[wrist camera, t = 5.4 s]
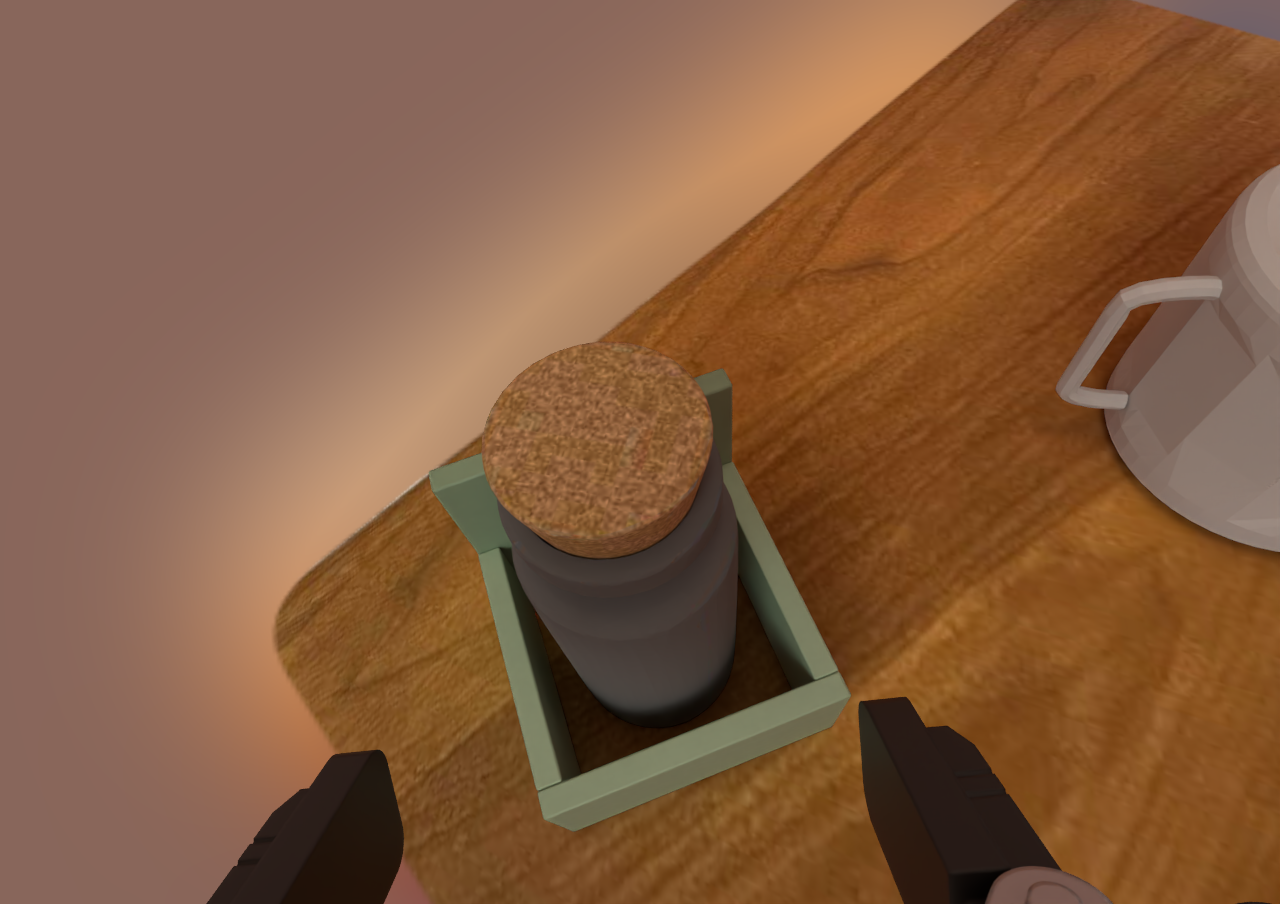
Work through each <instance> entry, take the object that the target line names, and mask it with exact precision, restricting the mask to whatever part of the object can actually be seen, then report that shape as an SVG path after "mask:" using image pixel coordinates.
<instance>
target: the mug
mask: <svg viewBox="0 0 1280 904" xmlns="http://www.w3.org/2000/svg"><path fill="white" fill-rule="evenodd" d="M1158 302H1162V303H1161V305H1160V306H1159V308H1158V309H1157V310H1156V312H1155V313H1154V314H1153V316H1152V317H1151V319H1150V320H1149V321H1148V323H1147V324H1146V325H1145V327H1144V328H1143V329H1142V331H1141V332H1140V333H1139V334H1138V336H1137V337H1136V338H1135V340H1134V341H1133V342H1132V344H1131V345H1130V346H1129V348H1128V349H1127V350H1126V352H1125V353H1124V355H1123V357H1122V358H1121V360H1120V361H1119V363H1118V365H1117V366H1116V368H1115V370H1114V371H1113V373H1112V375H1111V377H1110V379H1109V382H1108V384H1107V388H1106V390H1102V389H1093V388H1088V387H1082V386H1080V385H1081V384H1082V382H1083V381H1084V379H1085V378H1086V376H1087V375H1088V373H1089V372H1090V371H1091V369H1092V368H1093V366H1094V365H1095V363H1096V362H1097V360H1098V359H1099V358H1100V356H1101V355H1102V353H1103V352H1104V350H1105V349H1106V347H1107V346H1108V344H1109V343H1110V342H1111V340H1112V339H1113V337H1114V336H1115V334H1116V333H1117V331H1118V330H1119V328H1120V327H1121V326H1122V324H1123V323H1124V321H1125V320H1126V318H1127V316H1128V314H1129V312H1130V310H1132V309H1135V308H1137V307H1139V306H1141V305H1146V304H1152V303H1158ZM1056 392H1057V393H1058V395H1059V396H1060V397H1061V398H1062V399H1063V400H1065V401H1067V402H1069V403H1071V404H1075V405H1080V406H1085V407H1090V408H1102V409H1104V413H1105V419H1106V425H1107V428H1108V431H1109V434H1110V437H1111V440H1112V442H1113V444H1114V445H1115V447H1116V449H1117V451H1118V453H1119V455H1120V456H1121V458H1122V459H1123V461H1124V462H1125V464H1126V465H1127V467H1128V468H1129V469H1130V471H1131V472H1132V473H1133V474H1134V475H1135V476H1136V477H1137V479H1138V480H1139V481H1140V482H1141V483H1142V484H1143V485H1144V486H1145V487H1146V488H1147V489H1148V490H1149V491H1150V492H1151V493H1152V494H1153V495H1155V496H1156V497H1157V498H1158V499H1159V500H1161V501H1162V502H1163V503H1165V504H1166V505H1167V506H1169V507H1170V508H1171V509H1172V510H1174V511H1176V512H1177V513H1179V514H1180V515H1182V516H1184V517H1185V518H1187V519H1188V520H1190V521H1192V522H1194V523H1196V524H1198V525H1200V526H1201V527H1203V528H1205V529H1207V530H1209V531H1211V532H1214V533H1216V534H1219V535H1221V536H1224V537H1226V538H1229V539H1231V540H1234V541H1237V542H1240V543H1244V544H1247V545H1250V546H1253V547H1258V548H1262V549H1267V550H1272V551H1276V552H1280V164H1279V165H1277V166H1275V167H1273V168H1271V169H1269V170H1268V171H1266V172H1265V173H1264V174H1262V175H1261V176H1259V177H1258V178H1256V179H1255V180H1254V181H1253V182H1252V183H1251V184H1250V185H1249V186H1248V187H1247V188H1246V189H1245V190H1244V191H1243V192H1242V193H1241V194H1240V195H1239V197H1238V198H1237V199H1236V201H1235V202H1234V203H1233V205H1232V206H1231V207H1230V209H1229V210H1228V212H1227V213H1226V214H1225V216H1224V217H1223V218H1222V220H1221V221H1220V223H1219V224H1218V225H1217V227H1216V228H1215V230H1214V231H1213V233H1212V234H1211V235H1210V237H1209V238H1208V240H1207V241H1206V242H1205V244H1204V245H1203V247H1202V248H1201V249H1200V251H1199V252H1198V254H1197V255H1196V256H1195V258H1194V259H1193V261H1192V262H1191V263H1190V265H1189V266H1188V268H1187V269H1186V270H1185V272H1184V273H1183V275H1182V276H1181V277H1172V278H1162V279H1156V280H1151V281H1145V282H1140V283H1137V284H1135V285H1132V286H1130V287H1127V288H1124V289H1122V290H1120V291H1119V292H1118V293H1117V294H1116V295H1115V297H1114V298H1113V299H1112V300H1111V301H1110V302H1109V303H1108V304H1107V306H1106V307H1105V309H1104V310H1103V312H1102V313H1101V315H1100V317H1099V318H1098V320H1097V321H1096V323H1095V324H1094V326H1093V327H1092V329H1091V331H1090V332H1089V334H1088V335H1087V337H1086V338H1085V340H1084V342H1083V343H1082V345H1081V346H1080V348H1079V349H1078V351H1077V352H1076V354H1075V356H1074V357H1073V359H1072V360H1071V362H1070V363H1069V365H1068V367H1067V368H1066V370H1065V371H1064V373H1063V374H1062V376H1061V377H1060V379H1059V381H1058V383H1057V386H1056Z"/></svg>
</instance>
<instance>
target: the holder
mask: <svg viewBox="0 0 1280 904" xmlns="http://www.w3.org/2000/svg"><path fill="white" fill-rule="evenodd" d="M694 379H695V381H696V382H697V384H698V385H699V386H700V388H701V389H702V391H703V393H704V395H705V397H706V399H707V401H708V404H709V408H710V412H711V418H712V423H713V439H714V441H715V443H716V446H717V449H718V451H719V454H720V458H721V462H722V468H723V482H724V483H725V485H726V487H727V489H728V492H729V494H730V496H731V498H732V502H733V505H734V509H735V512H736V520H737V528H738V575H739V577H740V579H741V581H742V583H743V585H744V587H745V590H746V592H747V594H748V596H749V598H750V600H751V603H752V605H753V607H754V609H755V611H756V613H757V615H758V618H759V620H760V622H761V624H762V626H763V628H764V631H765V633H766V635H767V637H768V639H769V641H770V643H771V646H772V648H773V650H774V652H775V654H776V656H777V659H778V661H779V663H780V665H781V667H782V669H783V671H784V674H785V676H786V678H787V680H788V682H789V684H790V687H791V689H792V690H790V691H788V692H785V693H783V694H780V695H778V696H775V697H773V698H770V699H768V700H765V701H763V702H760V703H758V704H755V705H753V706H750V707H748V708H745V709H743V710H740V711H738V712H735V713H733V714H730V715H728V716H725V717H723V718H720V719H718V720H715V721H713V722H710V723H708V724H705V725H703V726H700V727H698V728H695V729H693V730H690V731H688V732H685V733H683V734H680V735H678V736H675V737H673V738H670V739H668V740H665V741H663V742H660V743H658V744H655V745H653V746H650V747H648V748H645V749H643V750H640V751H638V752H635V753H633V754H630V755H628V756H625V757H623V758H620V759H618V760H615V761H613V762H610V763H608V764H605V765H603V766H600V767H598V768H595V769H593V770H590V771H588V772H585V773H583V774H581V772H580V769H579V765H578V762H577V758H576V755H575V751H574V748H573V744H572V741H571V737H570V734H569V730H568V727H567V723H566V720H565V716H564V713H563V709H562V705H561V702H560V698H559V695H558V691H557V688H556V684H555V681H554V677H553V674H552V670H551V667H550V663H549V660H548V656H547V653H546V649H545V646H544V642H543V639H542V635H541V632H540V628H539V625H538V621H537V617H536V614H535V610H534V607H533V605H532V603H531V602H530V600H529V599H528V597H527V595H526V594H525V592H524V590H523V588H522V585H521V583H520V581H519V579H518V576H517V574H516V570H515V566H514V563H513V555H512V543H511V541H510V540H509V538H508V536H507V534H506V532H505V530H504V528H503V526H502V522H501V519H500V515H499V510H498V504H497V497H496V496H495V495H494V493H493V492H492V490H491V488H490V486H489V484H488V481H487V479H486V475H485V471H484V468H483V461H482V453H480V454H477V455H474V456H471V457H468V458H465V459H463V460H460V461H457V462H454V463H451V464H448V465H446V466H443V467H440V468H437V469H434V470H431V471H430V472H429V478H430V483H431V487H432V491H433V493H434V494H435V495H436V497H437V498H438V500H439V501H440V502H441V504H442V505H443V506H444V508H445V509H446V510H447V512H448V513H449V515H450V516H451V517H452V519H453V520H454V521H455V523H456V524H457V525H458V527H459V528H460V530H461V531H462V532H463V534H464V535H465V536H466V538H467V539H468V540H469V542H470V543H471V545H472V546H473V547H474V549H475V550H476V551H477V553H478V554H479V561H480V565H481V569H482V573H483V577H484V581H485V585H486V589H487V593H488V597H489V601H490V605H491V609H492V613H493V617H494V621H495V625H496V629H497V633H498V637H499V641H500V645H501V649H502V653H503V657H504V661H505V665H506V669H507V673H508V677H509V681H510V685H511V690H512V694H513V698H514V702H515V706H516V710H517V714H518V718H519V722H520V726H521V730H522V734H523V738H524V742H525V746H526V750H527V754H528V758H529V762H530V766H531V770H532V774H533V778H534V782H535V786H536V789H537V790H538V791H539V792H538V798H539V802H540V806H541V810H542V814H543V818H544V819H545V820H546V821H549V822H551V823H554V824H556V825H559V826H561V827H564V828H566V829H569V830H571V831H577V830H579V829H582V828H584V827H587V826H589V825H592V824H594V823H597V822H599V821H601V820H604V819H606V818H609V817H611V816H614V815H616V814H619V813H621V812H624V811H626V810H628V809H631V808H633V807H636V806H638V805H641V804H643V803H646V802H648V801H651V800H653V799H655V798H658V797H660V796H663V795H665V794H668V793H670V792H673V791H675V790H677V789H680V788H682V787H685V786H687V785H690V784H692V783H695V782H697V781H700V780H702V779H704V778H707V777H709V776H712V775H714V774H717V773H719V772H722V771H724V770H727V769H729V768H731V767H734V766H736V765H739V764H741V763H744V762H746V761H749V760H751V759H754V758H756V757H758V756H761V755H763V754H766V753H768V752H771V751H773V750H776V749H778V748H781V747H783V746H785V745H788V744H790V743H793V742H795V741H798V740H800V739H803V738H805V737H807V736H810V735H812V734H815V733H817V732H820V731H822V730H825V729H827V728H830V727H832V726H833V724H834V723H835V721H836V719H837V718H838V716H839V715H840V713H841V711H842V710H843V708H844V706H845V705H846V703H847V702H848V700H849V698H850V697H851V693H850V692H849V690H848V688H847V686H846V684H845V682H844V680H843V678H842V676H841V674H840V673H839V672H838V668H837V666H836V664H835V662H834V660H833V658H832V656H831V654H830V652H829V650H828V648H827V646H826V644H825V642H824V640H823V638H822V636H821V634H820V632H819V630H818V628H817V626H816V624H815V622H814V620H813V618H812V616H811V615H810V613H809V611H808V609H807V607H806V605H805V603H804V601H803V599H802V597H801V595H800V593H799V591H798V589H797V587H796V585H795V583H794V581H793V579H792V577H791V575H790V573H789V571H788V569H787V567H786V565H785V563H784V561H783V559H782V557H781V555H780V553H779V551H778V550H777V548H776V546H775V544H774V542H773V540H772V538H771V536H770V534H769V532H768V530H767V528H766V526H765V524H764V522H763V520H762V518H761V516H760V514H759V512H758V510H757V508H756V506H755V504H754V502H753V500H752V498H751V496H750V494H749V492H748V490H747V488H746V487H745V485H744V483H743V481H742V479H741V477H740V475H739V473H738V471H737V469H736V467H735V465H734V463H733V462H732V383H731V382H730V380H729V378H728V376H727V374H726V372H725V371H724V369H719V370H716V371H713V372H710V373H707V374H704V375H701V376H699V377H696V378H694Z"/></svg>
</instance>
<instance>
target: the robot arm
mask: <svg viewBox="0 0 1280 904" xmlns="http://www.w3.org/2000/svg"><path fill="white" fill-rule="evenodd" d="M859 728H860V742H861V756H862V771H863V784H864V792H865V798H866V803H867V807H868V811H869V815H870V819H871V822H872V825H873V827H874V830H875V832H876V835H877V837H878V840H879V842H880V845H881V847H882V850H883V852H884V855H885V857H886V860H887V862H888V865H889V867H890V870H891V872H892V875H893V877H894V880H895V882H896V885H897V887H898V890H899V892H900V895H901V897H902V900H903V902H904V904H1113V903H1112V902H1111V901H1110V900H1109V899H1108V897H1106V896H1105V895H1104V894H1103V893H1102V892H1100V891H1099V890H1098V889H1097V888H1095V887H1094V886H1092V885H1091V884H1089V883H1088V882H1086V881H1084V880H1082V879H1080V878H1078V877H1076V876H1074V875H1071V874H1069V873H1067V872H1063V871H1062V870H1061V869H1060V867H1059V866H1058V865H1057V863H1056V862H1055V860H1054V859H1053V857H1052V856H1051V854H1050V853H1049V852H1048V850H1047V849H1046V847H1045V846H1044V844H1043V843H1042V841H1041V840H1040V839H1039V837H1038V836H1037V834H1036V833H1035V831H1034V830H1033V828H1032V827H1031V826H1030V824H1029V823H1028V821H1027V820H1026V818H1025V817H1024V815H1023V814H1022V813H1021V811H1020V810H1019V808H1018V807H1017V805H1016V804H1015V802H1014V801H1013V800H1012V798H1011V797H1010V795H1009V794H1006V791H1005V788H1004V787H1003V785H1002V784H1001V782H1000V781H999V779H998V778H997V777H996V775H995V774H992V771H991V768H990V766H989V765H988V764H987V762H986V761H985V759H984V758H983V756H982V755H981V753H980V752H979V751H978V749H977V748H976V746H975V745H974V744H973V743H971V742H970V741H968V740H967V739H966V738H964V737H963V736H961V735H960V734H958V733H957V732H955V731H954V730H953V729H951V728H950V727H948V726H938V727H928V728H926V727H925V725H924V723H923V722H922V720H921V718H920V717H919V715H918V714H917V712H916V710H915V709H914V707H913V705H912V704H911V702H910V701H909V699H908V698H907V697H898V698H888V699H878V700H869V701H860V703H859ZM403 846H404V833H403V826H402V821H401V817H400V813H399V809H398V805H397V800H396V796H395V792H394V788H393V784H392V779H391V775H390V771H389V767H388V763H387V759H386V757H385V755H384V753H383V752H382V751H381V750H370V751H361V752H351V753H341V754H335V755H333V756H332V757H331V758H330V759H329V760H328V762H327V763H326V764H325V766H324V767H323V769H322V770H321V772H320V773H319V775H318V776H317V777H316V779H315V780H314V782H313V783H312V785H311V786H310V788H308V789H301V790H299V791H298V792H297V793H296V794H295V795H294V796H292V797H291V798H290V799H289V800H287V801H286V802H285V803H284V804H283V805H282V806H280V807H279V808H278V809H277V810H275V811H274V812H273V813H272V814H271V816H270V817H269V819H268V820H267V821H266V823H265V824H264V825H263V827H262V828H261V829H260V831H259V832H258V834H257V835H256V836H255V838H254V843H253V844H250V845H249V846H248V847H247V849H246V850H245V851H244V853H243V854H242V856H241V857H240V858H239V860H238V865H237V866H234V867H233V868H232V870H231V871H230V872H229V874H228V875H227V876H226V878H225V879H224V880H223V882H222V883H221V885H220V886H219V887H218V889H217V890H216V891H215V893H214V894H213V896H212V897H211V898H210V900H209V901H208V902H207V904H384V902H385V899H386V897H387V895H388V892H389V890H390V888H391V885H392V883H393V881H394V879H395V877H396V874H397V872H398V870H399V867H400V864H401V860H402V854H403ZM1237 904H1270V903H1263V902H1244V903H1237Z"/></svg>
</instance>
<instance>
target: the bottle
mask: <svg viewBox="0 0 1280 904" xmlns="http://www.w3.org/2000/svg"><path fill="white" fill-rule="evenodd" d="M482 461H483V468H484V471H485V475H486V479H487V481H488V484H489V486H490V488H491V490H492V492H493V493H494V495H495V496H496V497H497V504H498V510H499V515H500V519H501V522H502V526H503V528H504V530H505V532H506V534H507V536H508V538H509V540H510V541H511V543H512V555H513V563H514V566H515V570H516V574H517V576H518V579H519V581H520V583H521V585H522V588H523V590H524V592H525V594H526V595H527V597H528V599H529V600H530V602H531V603H532V605H533V607H534V608H535V610H536V611H537V613H538V615H539V616H540V618H541V619H542V621H543V623H544V624H545V626H546V627H547V629H548V630H549V631H550V633H551V634H552V636H553V637H554V639H555V640H556V642H557V643H558V645H559V646H560V648H561V649H562V651H563V652H564V654H565V655H566V657H567V658H568V659H569V661H570V662H571V664H572V665H573V667H574V668H575V670H576V671H577V673H578V674H579V676H580V677H581V679H582V680H583V682H584V683H585V685H586V686H587V687H588V689H589V690H590V691H591V692H592V694H593V695H594V696H595V698H596V699H597V700H598V701H599V702H600V703H601V704H602V706H604V707H605V708H606V709H607V710H608V711H609V712H611V713H612V714H614V715H615V716H617V717H618V718H620V719H622V720H624V721H626V722H629V723H632V724H635V725H639V726H643V727H655V728H661V727H670V726H675V725H677V724H680V723H683V722H686V721H689V720H691V719H692V718H694V717H696V716H698V715H699V714H701V713H702V712H703V711H705V710H706V709H707V708H708V707H709V706H710V705H711V704H712V703H713V702H714V701H715V700H716V699H717V698H718V696H719V695H720V693H721V692H722V690H723V689H724V687H725V685H726V683H727V680H728V678H729V676H730V673H731V669H732V665H733V661H734V652H735V638H736V611H737V582H738V528H737V520H736V512H735V509H734V505H733V502H732V498H731V496H730V494H729V492H728V489H727V487H726V485H725V483H724V482H723V468H722V462H721V458H720V454H719V451H718V449H717V446H716V443H715V441H714V439H713V423H712V418H711V412H710V408H709V404H708V401H707V399H706V397H705V395H704V393H703V391H702V389H701V388H700V386H699V385H698V384H697V382H696V381H695V379H694V378H693V377H692V376H691V375H690V374H689V373H688V372H687V371H686V370H685V369H684V368H683V367H682V366H681V365H679V364H678V363H676V362H675V361H674V360H672V359H671V358H669V357H667V356H665V355H663V354H661V353H659V352H657V351H655V350H652V349H648V348H645V347H642V346H638V345H634V344H630V343H622V342H595V343H587V344H582V345H577V346H573V347H570V348H567V349H563V350H560V351H558V352H555V353H553V354H551V355H549V356H547V357H545V358H543V359H541V360H539V361H538V362H536V363H534V364H532V365H531V366H530V367H528V368H527V369H526V370H524V371H523V372H522V373H521V374H519V375H518V376H517V377H516V378H515V379H514V380H513V381H512V382H511V383H510V384H509V385H508V386H507V388H506V389H505V390H504V391H503V392H502V394H501V395H500V397H499V398H498V400H497V401H496V403H495V405H494V406H493V408H492V409H491V412H490V414H489V417H488V419H487V422H486V425H485V430H484V434H483V438H482Z"/></svg>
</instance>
